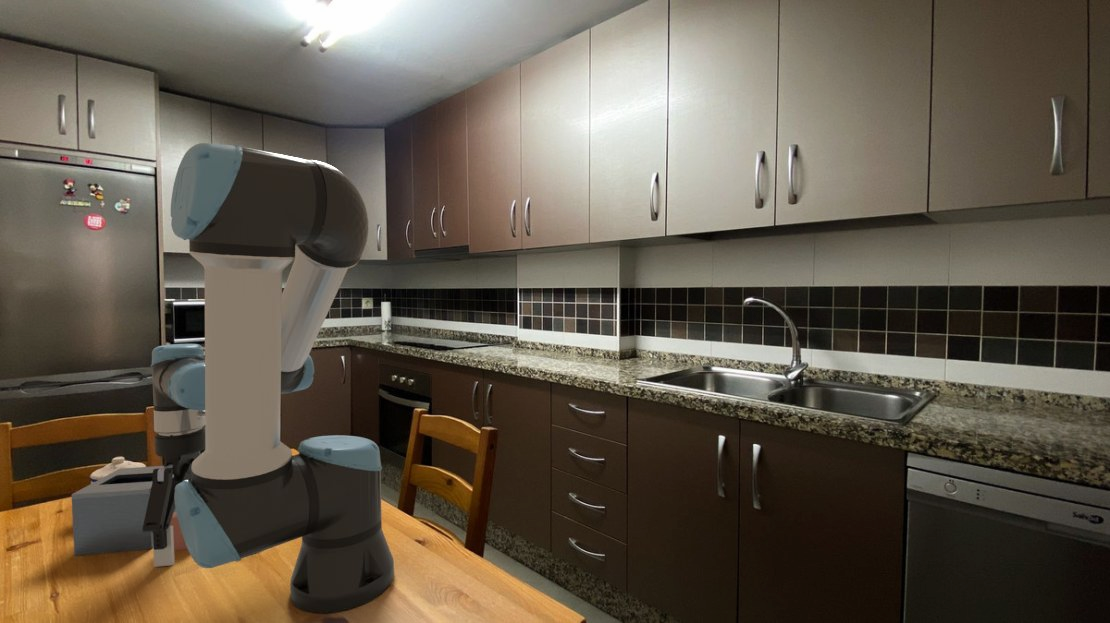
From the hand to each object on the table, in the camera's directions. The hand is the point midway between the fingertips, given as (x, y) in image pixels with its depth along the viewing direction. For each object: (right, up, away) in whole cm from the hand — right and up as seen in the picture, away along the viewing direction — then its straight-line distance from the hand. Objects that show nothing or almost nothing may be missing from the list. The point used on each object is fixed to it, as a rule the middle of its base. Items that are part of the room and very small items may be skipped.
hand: (185, 545), depth 93 cm
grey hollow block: (-12, 0, +4) cm, 13 cm away
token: (0, 0, 0) cm, 0 cm away
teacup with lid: (-25, 0, +14) cm, 29 cm away
